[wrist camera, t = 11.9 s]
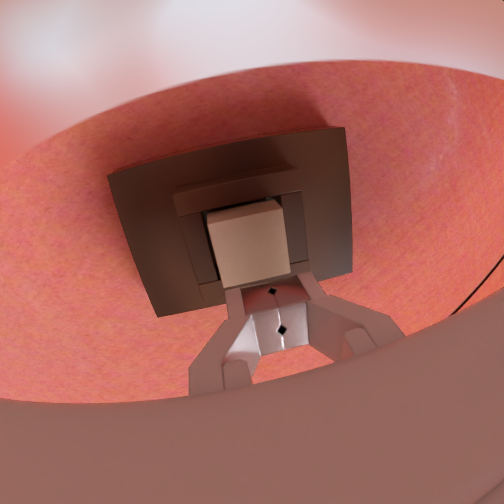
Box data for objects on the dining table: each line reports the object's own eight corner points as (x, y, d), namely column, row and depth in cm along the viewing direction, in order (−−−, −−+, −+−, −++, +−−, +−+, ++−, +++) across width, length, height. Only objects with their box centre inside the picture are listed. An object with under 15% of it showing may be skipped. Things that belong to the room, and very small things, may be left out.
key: (221, 272, 16) (223, 288, 15) (206, 212, 15) (206, 224, 13) (282, 258, 17) (291, 273, 15) (274, 198, 15) (282, 207, 13)
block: (160, 300, 21) (154, 334, 17) (117, 169, 16) (95, 181, 13) (340, 258, 22) (364, 285, 18) (330, 126, 17) (359, 128, 14)
